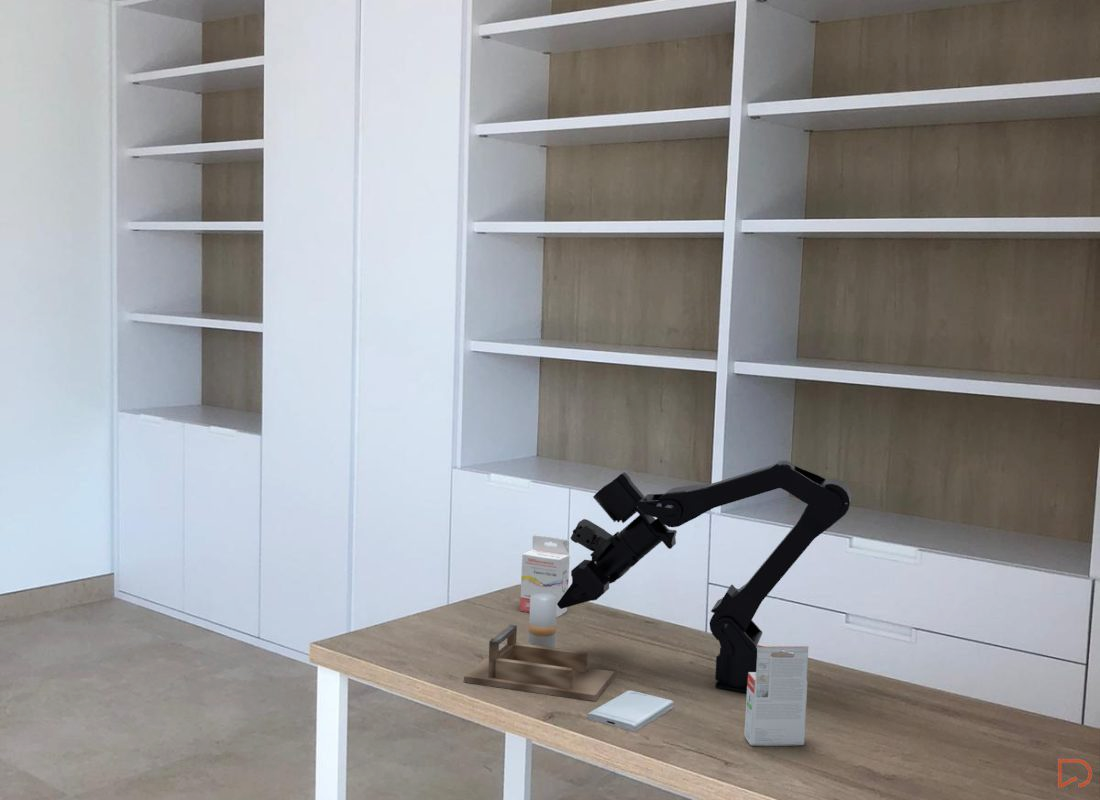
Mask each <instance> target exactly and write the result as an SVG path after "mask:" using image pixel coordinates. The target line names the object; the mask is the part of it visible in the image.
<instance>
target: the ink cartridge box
mask: <svg viewBox="0 0 1100 800" xmlns="http://www.w3.org/2000/svg"><path fill="white" fill-rule="evenodd" d="M550 542H551V543H552V544H555V545H556V546H554V545H548V544H545V543H550ZM570 556H571V555H570V541H569V539H564V538H559V537H551V536H546V535H537V534H534V535H533V536H532V549H531V550H528V551H526V552H524V553H522V557H521V578H520V579H521V582H520V604H519V611H520V612H524V613H525V612H526V613H530V596H531V595H532V594H536V593H548V594H553V595H556V596H557V603H558V602H559V600H560V599H561V598H562V596H563V595H564V594H565V592H566V591H567V590H568V588H569V578H570ZM567 612H568V607H566V608H563V609H560V608H559V606H558V605H557V611H556V618H560V616H562V615H564V614H565V613H567Z"/></svg>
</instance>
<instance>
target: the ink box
mask: <svg viewBox="0 0 1100 800" xmlns="http://www.w3.org/2000/svg"><path fill="white" fill-rule="evenodd" d="M756 648H757V664H756V672H748V683H747V693H746V697H745V698H746V699H745V700H746V702H745V715H744V733H743V734H744V738H745V740H746V741H747V742H748V744H749V746H751V747H753V746H754V747H778V746H779V747H780V746H782V747H783V746H785V747H787V746H788V747H791V746H804V745H805V736H806V718H807V717H806V715H807V713H806V712H807V698H808V662H809V661H808V659H809V646H808V645H807V646H804V645H803V646H757V647H756ZM781 651H784V652H785V653H793V655H792V656H772V654H773V653H780V652H781Z"/></svg>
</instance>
